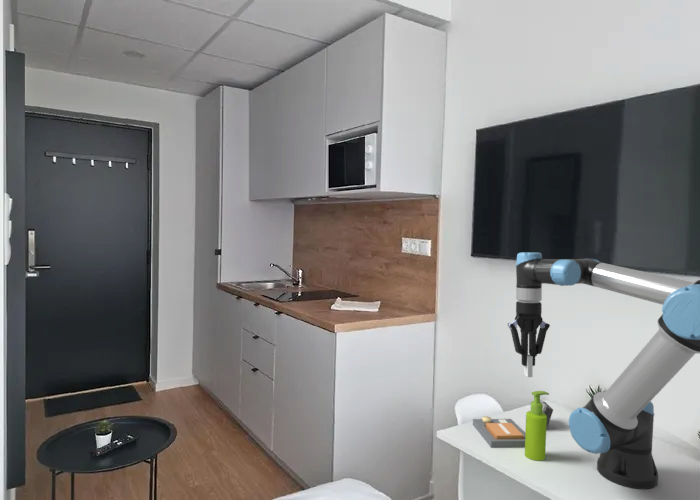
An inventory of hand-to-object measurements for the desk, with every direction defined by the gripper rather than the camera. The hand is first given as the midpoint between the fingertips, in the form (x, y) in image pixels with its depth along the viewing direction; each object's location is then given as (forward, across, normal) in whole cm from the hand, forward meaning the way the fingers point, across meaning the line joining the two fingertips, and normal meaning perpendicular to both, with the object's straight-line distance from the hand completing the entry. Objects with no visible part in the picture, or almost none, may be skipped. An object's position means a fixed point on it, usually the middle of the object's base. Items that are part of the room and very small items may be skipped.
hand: (528, 375), depth 150 cm
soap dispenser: (+24, -1, +3) cm, 24 cm away
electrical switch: (+24, -13, -20) cm, 33 cm away
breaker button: (+23, +4, -10) cm, 26 cm away
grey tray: (+23, +4, -12) cm, 26 cm away
